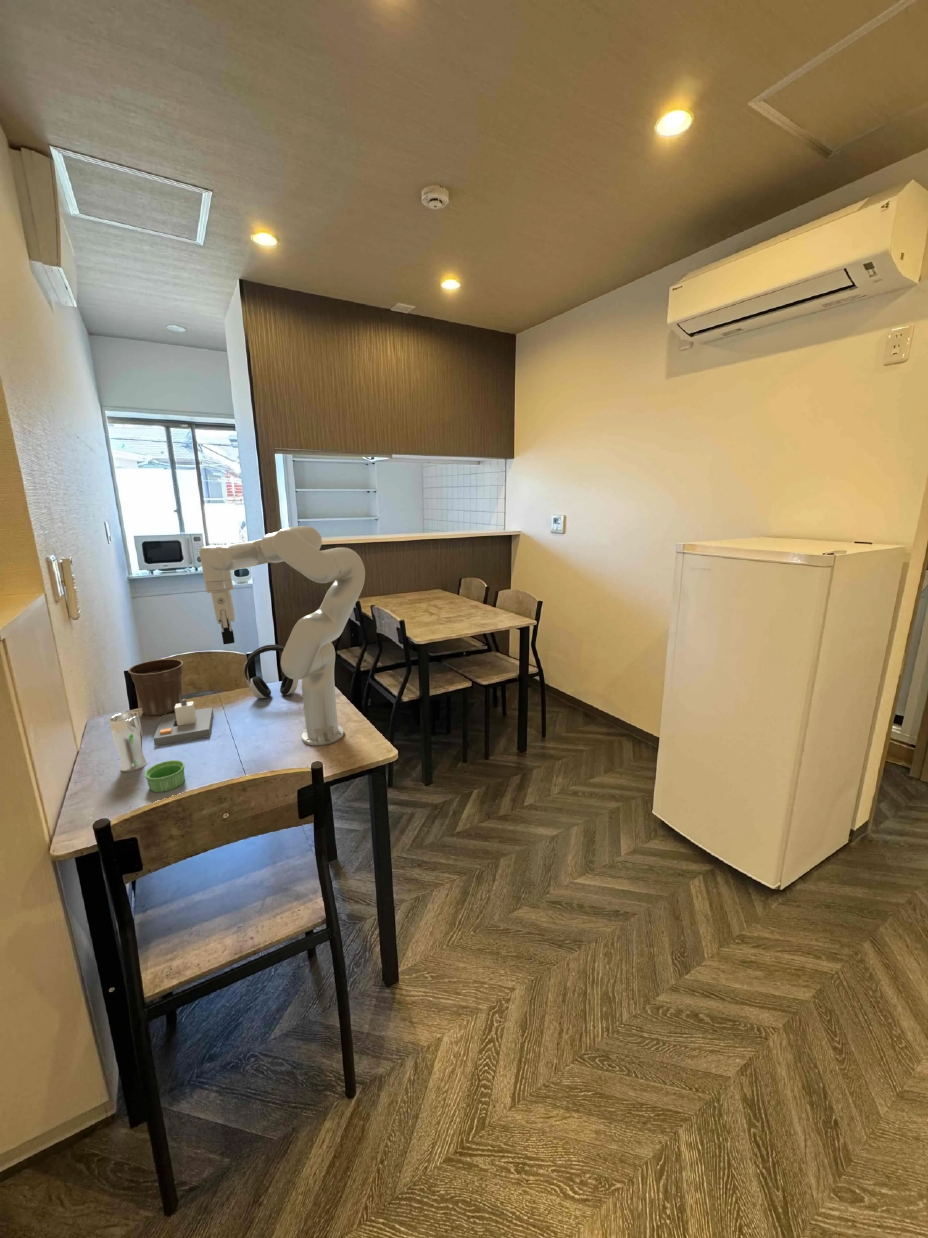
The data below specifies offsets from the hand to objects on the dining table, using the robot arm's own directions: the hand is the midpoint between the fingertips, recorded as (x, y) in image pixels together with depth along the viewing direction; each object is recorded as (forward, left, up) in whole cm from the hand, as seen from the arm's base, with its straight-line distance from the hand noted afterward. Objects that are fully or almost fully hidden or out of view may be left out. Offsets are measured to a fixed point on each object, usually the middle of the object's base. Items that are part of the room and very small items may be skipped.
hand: (229, 643), depth 158 cm
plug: (+3, +16, -27) cm, 32 cm away
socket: (+3, +16, -28) cm, 32 cm away
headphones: (+19, -12, -28) cm, 36 cm away
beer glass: (-17, +27, -28) cm, 42 cm away
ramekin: (-31, +17, -28) cm, 45 cm away
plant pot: (+24, +25, -28) cm, 45 cm away
